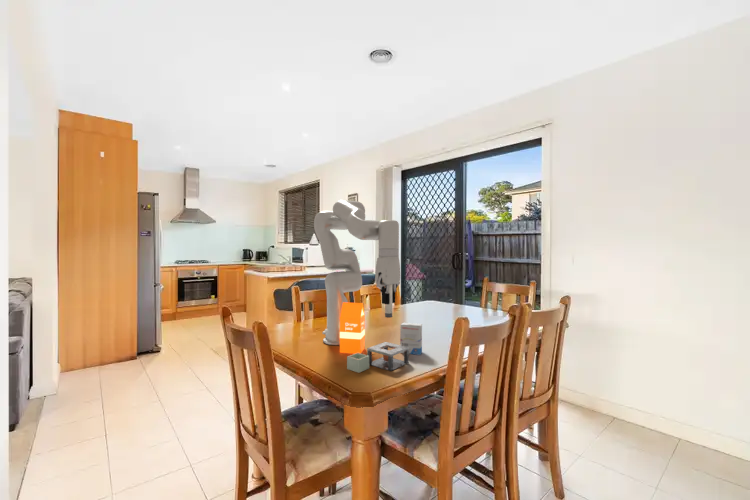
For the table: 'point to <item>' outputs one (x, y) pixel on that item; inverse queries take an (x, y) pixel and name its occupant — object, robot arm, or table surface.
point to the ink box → (411, 337)
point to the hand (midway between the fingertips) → (388, 302)
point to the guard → (391, 362)
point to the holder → (358, 362)
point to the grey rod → (389, 306)
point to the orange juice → (352, 328)
